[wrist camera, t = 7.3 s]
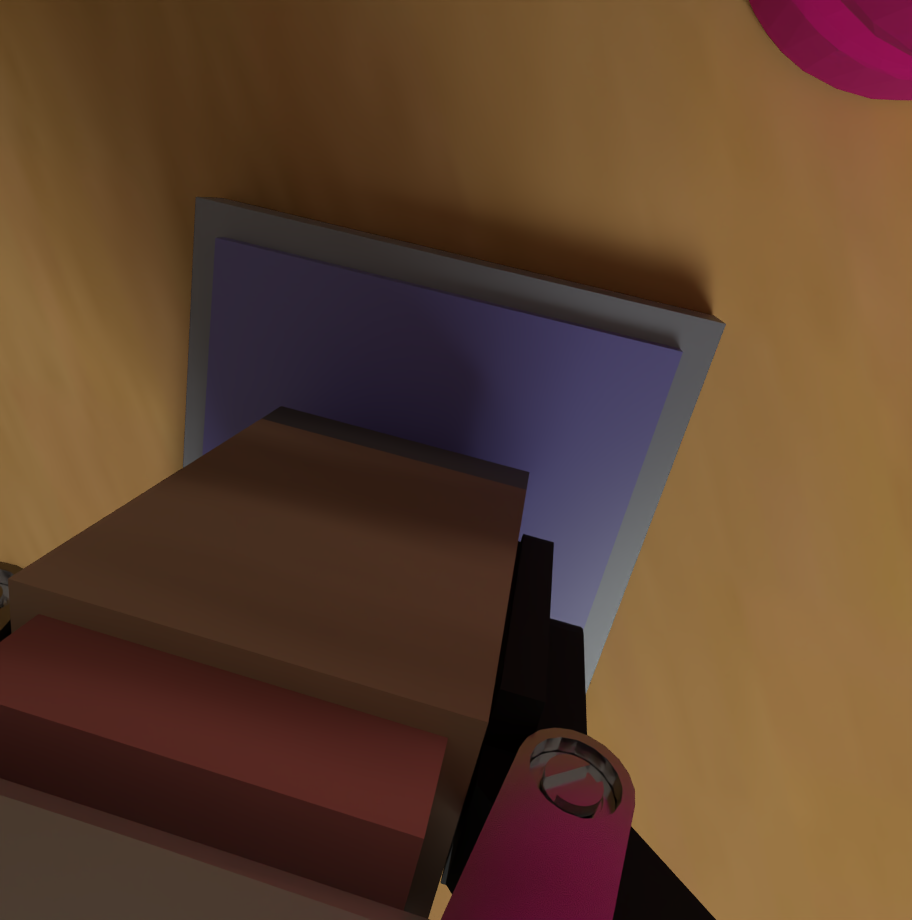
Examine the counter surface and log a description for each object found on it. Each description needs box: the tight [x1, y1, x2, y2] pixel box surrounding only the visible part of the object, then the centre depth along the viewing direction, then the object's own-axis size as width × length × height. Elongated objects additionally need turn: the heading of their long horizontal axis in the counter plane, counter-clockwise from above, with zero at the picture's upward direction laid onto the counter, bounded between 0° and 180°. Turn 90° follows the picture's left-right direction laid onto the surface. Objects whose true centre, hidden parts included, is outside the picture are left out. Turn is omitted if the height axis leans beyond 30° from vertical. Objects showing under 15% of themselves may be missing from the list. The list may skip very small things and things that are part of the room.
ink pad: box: [183, 197, 726, 692], centre depth 14 cm, size 10×10×1 cm
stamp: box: [0, 406, 529, 919], centre depth 9 cm, size 5×5×7 cm
